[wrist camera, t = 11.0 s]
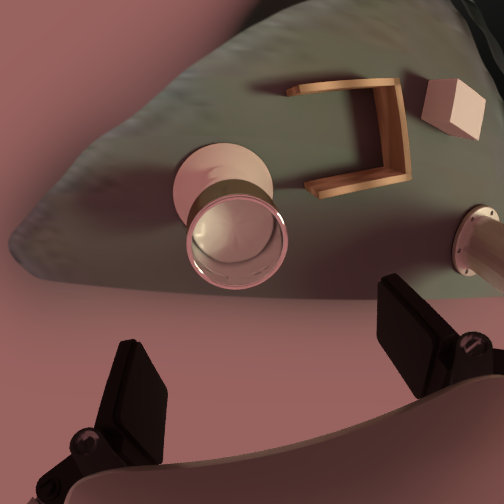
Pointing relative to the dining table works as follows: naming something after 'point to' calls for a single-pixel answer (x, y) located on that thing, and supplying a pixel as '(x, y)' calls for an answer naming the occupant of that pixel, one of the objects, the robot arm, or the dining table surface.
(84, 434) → the robot arm
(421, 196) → the dining table surface
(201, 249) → the beer glass
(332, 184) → the wooden u-shaped bracket
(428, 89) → the pale pink cube
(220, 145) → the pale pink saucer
